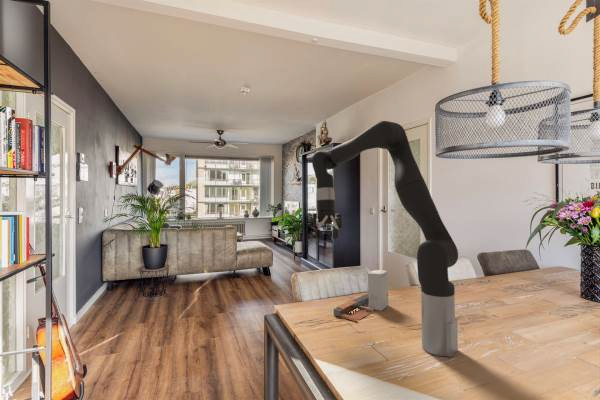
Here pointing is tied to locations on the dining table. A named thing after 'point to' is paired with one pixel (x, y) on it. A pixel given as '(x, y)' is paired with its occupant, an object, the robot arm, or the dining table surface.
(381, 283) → the skincare box
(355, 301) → the rail
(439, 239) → the robot arm
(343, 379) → the dining table surface
